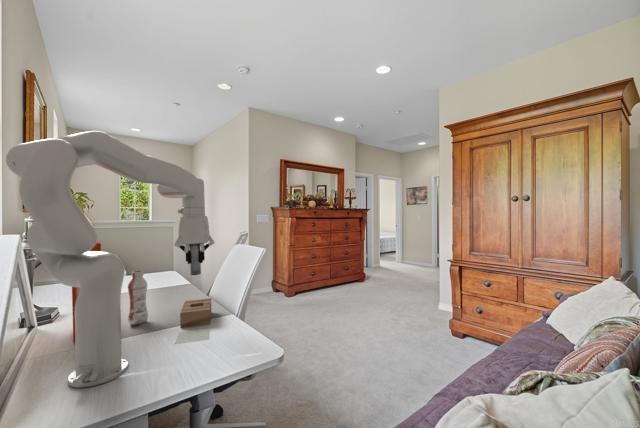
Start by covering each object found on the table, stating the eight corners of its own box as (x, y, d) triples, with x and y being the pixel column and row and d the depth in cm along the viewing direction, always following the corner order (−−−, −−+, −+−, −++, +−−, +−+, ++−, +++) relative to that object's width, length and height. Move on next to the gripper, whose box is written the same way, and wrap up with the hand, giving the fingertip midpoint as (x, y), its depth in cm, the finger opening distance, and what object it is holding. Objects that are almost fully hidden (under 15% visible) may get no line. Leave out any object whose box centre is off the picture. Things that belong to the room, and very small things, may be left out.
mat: (208, 340, 96) (208, 339, 96) (174, 345, 93) (174, 343, 93) (209, 329, 105) (209, 328, 105) (178, 333, 102) (178, 332, 102)
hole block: (210, 325, 109) (209, 309, 109) (180, 329, 106) (180, 312, 106) (211, 312, 124) (211, 298, 124) (185, 315, 121) (185, 300, 121)
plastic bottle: (152, 320, 115) (151, 269, 115) (140, 327, 109) (139, 273, 109) (136, 320, 116) (136, 269, 116) (123, 327, 109) (123, 273, 109)
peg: (200, 274, 106) (199, 235, 106) (189, 275, 105) (188, 236, 105) (201, 272, 110) (200, 235, 109) (191, 273, 109) (189, 235, 108)
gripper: (166, 213, 101) (168, 266, 101) (217, 212, 106) (219, 263, 106) (170, 213, 108) (172, 263, 109) (218, 212, 113) (219, 259, 113)
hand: (195, 262), depth 107 cm, fingers closed on peg, 3 cm apart
